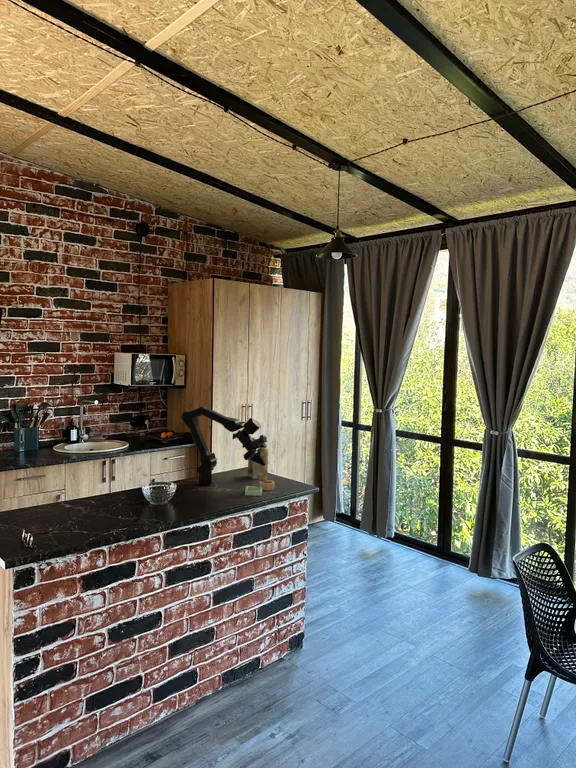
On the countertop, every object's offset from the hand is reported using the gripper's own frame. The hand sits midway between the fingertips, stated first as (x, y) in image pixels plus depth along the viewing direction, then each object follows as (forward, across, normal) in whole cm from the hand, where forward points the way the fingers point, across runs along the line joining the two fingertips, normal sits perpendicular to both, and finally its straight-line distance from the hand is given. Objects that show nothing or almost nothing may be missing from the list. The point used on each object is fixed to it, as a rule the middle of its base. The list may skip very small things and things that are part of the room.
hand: (266, 464), depth 264 cm
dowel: (+5, 0, +7) cm, 8 cm away
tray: (+7, -7, +12) cm, 15 cm away
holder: (+9, +4, +10) cm, 14 cm away
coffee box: (0, +23, +20) cm, 30 cm away
